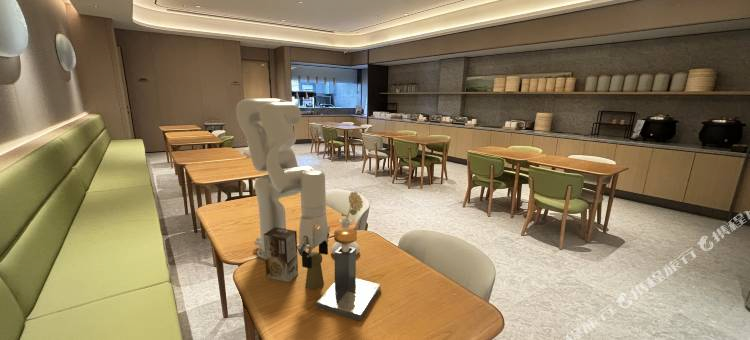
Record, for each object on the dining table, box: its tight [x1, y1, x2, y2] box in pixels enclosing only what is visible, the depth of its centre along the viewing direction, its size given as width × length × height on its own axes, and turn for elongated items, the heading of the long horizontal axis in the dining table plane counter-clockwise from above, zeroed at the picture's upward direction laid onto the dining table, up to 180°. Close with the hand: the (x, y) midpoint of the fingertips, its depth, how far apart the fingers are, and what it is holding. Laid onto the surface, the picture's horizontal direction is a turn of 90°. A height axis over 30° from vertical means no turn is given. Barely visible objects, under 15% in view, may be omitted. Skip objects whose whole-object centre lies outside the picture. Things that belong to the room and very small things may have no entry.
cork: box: [305, 251, 325, 291], centre depth 104 cm, size 6×6×11 cm
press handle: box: [333, 227, 358, 254], centre depth 100 cm, size 7×7×13 cm
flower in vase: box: [330, 191, 364, 255], centre depth 124 cm, size 13×11×25 cm
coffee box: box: [264, 227, 299, 283], centre depth 108 cm, size 9×6×16 cm
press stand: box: [316, 246, 382, 322], centre depth 97 cm, size 14×16×14 cm
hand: (315, 260), depth 102 cm, fingers open, 9 cm apart
